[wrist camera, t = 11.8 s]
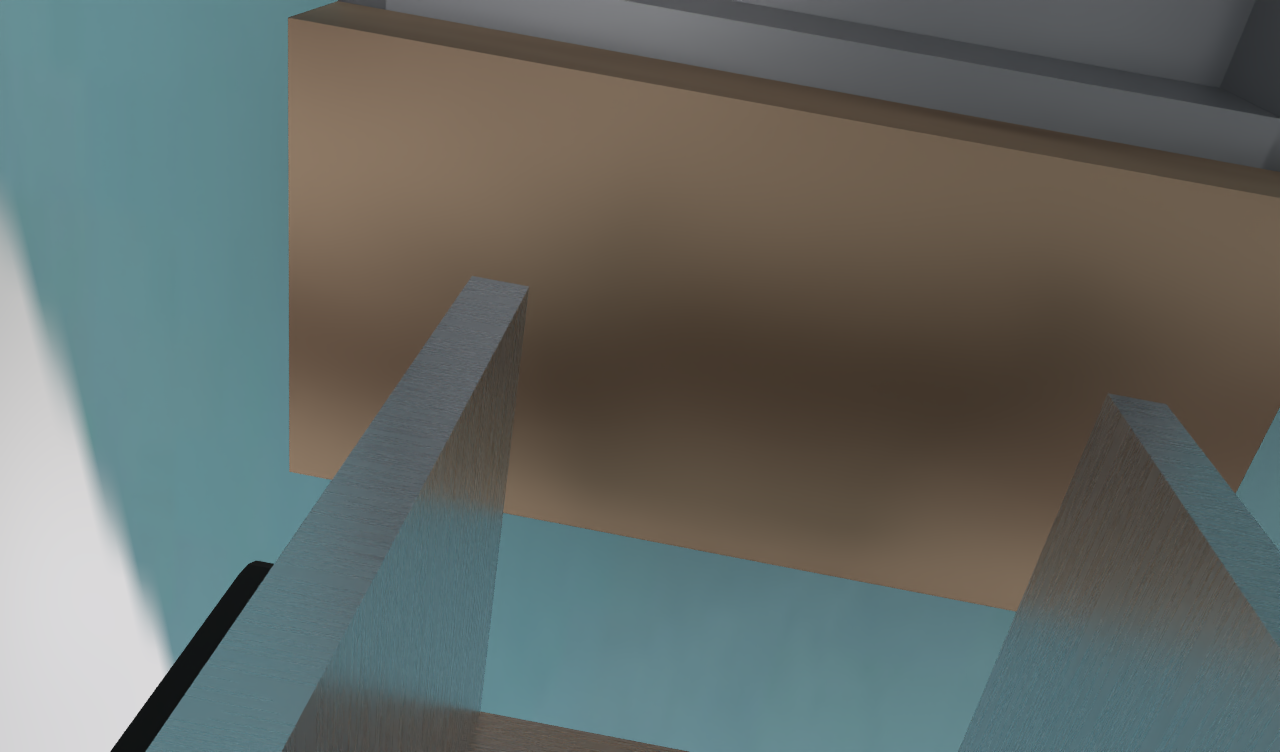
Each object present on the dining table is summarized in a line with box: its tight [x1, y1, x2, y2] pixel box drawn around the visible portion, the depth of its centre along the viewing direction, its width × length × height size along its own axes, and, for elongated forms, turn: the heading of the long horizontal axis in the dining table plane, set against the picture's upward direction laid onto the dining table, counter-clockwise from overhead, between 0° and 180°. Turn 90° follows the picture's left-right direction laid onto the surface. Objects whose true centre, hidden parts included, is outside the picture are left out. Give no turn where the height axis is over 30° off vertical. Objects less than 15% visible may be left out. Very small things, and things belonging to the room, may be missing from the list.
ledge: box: [288, 1, 1280, 611], centre depth 19 cm, size 8×16×5 cm, turn 81°
